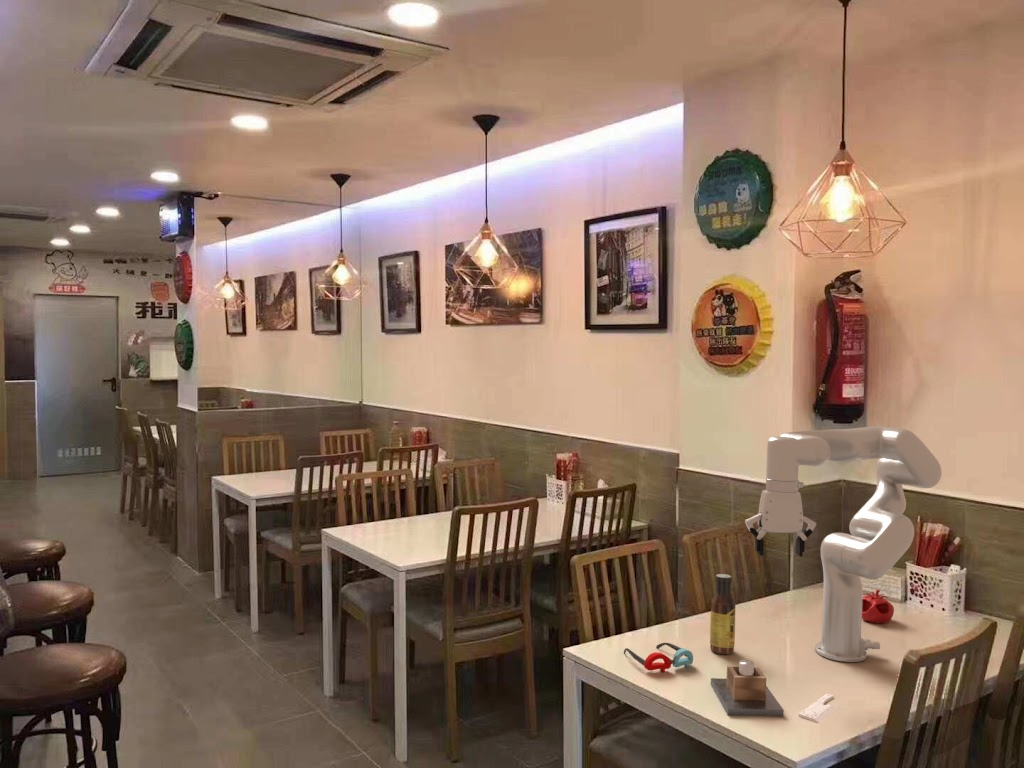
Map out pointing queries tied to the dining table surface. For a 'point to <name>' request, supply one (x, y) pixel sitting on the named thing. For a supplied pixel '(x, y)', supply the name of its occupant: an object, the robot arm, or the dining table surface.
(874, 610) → the red tomato container
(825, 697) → the butcher knife
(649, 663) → the novelty glasses
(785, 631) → the dining table surface
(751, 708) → the post stand
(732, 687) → the wooden box
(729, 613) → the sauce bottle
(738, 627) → the dining table surface
